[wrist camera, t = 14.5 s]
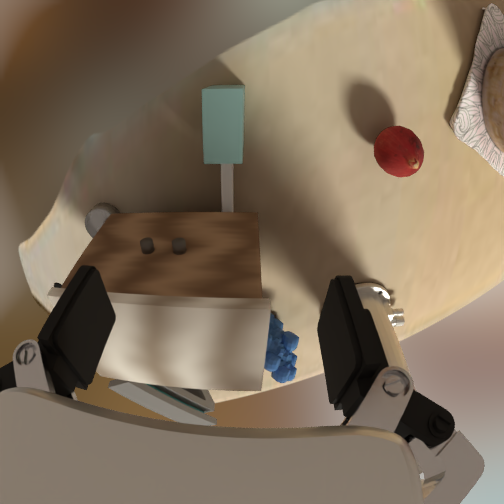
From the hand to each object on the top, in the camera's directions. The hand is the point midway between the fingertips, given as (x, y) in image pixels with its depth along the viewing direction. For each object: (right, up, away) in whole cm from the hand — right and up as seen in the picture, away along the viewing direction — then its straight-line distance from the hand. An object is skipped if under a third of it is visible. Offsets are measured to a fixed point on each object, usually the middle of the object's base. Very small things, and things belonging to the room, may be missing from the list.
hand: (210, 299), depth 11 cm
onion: (+18, +15, +19) cm, 30 cm away
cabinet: (-6, +4, +27) cm, 28 cm away
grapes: (+6, -9, +37) cm, 39 cm away
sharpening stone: (-17, -25, +49) cm, 58 cm away
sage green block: (-1, +12, +21) cm, 24 cm away
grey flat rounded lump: (-19, +7, +25) cm, 32 cm away
